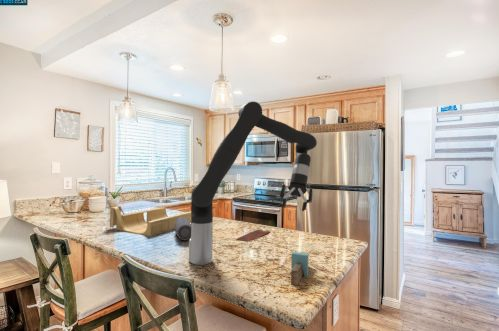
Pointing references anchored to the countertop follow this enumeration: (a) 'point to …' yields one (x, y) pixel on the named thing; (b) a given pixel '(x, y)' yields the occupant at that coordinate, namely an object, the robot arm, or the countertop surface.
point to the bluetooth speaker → (183, 228)
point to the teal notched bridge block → (300, 261)
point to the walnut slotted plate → (296, 274)
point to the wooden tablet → (252, 235)
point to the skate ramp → (138, 225)
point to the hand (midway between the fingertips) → (293, 209)
